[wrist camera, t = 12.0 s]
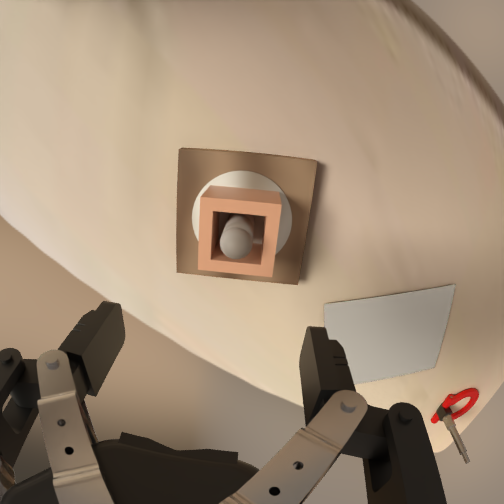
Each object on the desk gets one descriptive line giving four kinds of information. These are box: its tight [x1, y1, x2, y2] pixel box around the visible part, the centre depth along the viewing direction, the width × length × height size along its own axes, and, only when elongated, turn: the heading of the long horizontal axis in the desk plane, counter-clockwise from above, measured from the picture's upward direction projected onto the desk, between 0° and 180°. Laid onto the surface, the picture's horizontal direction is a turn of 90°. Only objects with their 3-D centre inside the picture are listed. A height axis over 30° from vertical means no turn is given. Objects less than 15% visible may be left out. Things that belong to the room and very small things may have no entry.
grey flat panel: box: [324, 284, 456, 385], centre depth 33 cm, size 23×25×1 cm
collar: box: [198, 185, 282, 277], centre depth 26 cm, size 6×6×4 cm
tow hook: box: [431, 388, 479, 464], centre depth 35 cm, size 8×13×9 cm
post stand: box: [176, 148, 317, 285], centre depth 26 cm, size 12×12×8 cm
